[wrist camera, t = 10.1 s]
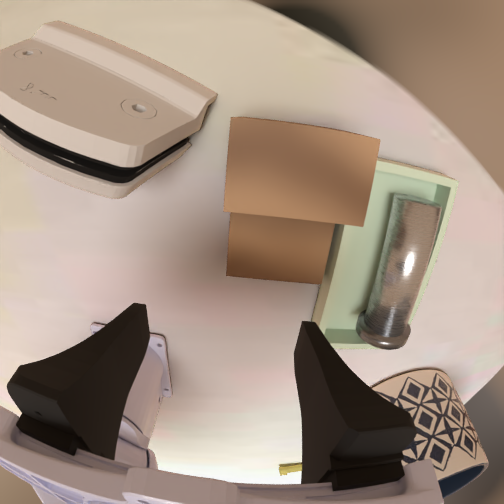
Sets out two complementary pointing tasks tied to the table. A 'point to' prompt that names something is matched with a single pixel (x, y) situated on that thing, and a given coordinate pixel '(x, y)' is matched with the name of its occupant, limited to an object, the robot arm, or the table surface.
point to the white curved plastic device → (94, 110)
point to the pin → (400, 271)
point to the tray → (374, 250)
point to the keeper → (292, 195)
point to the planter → (437, 427)
